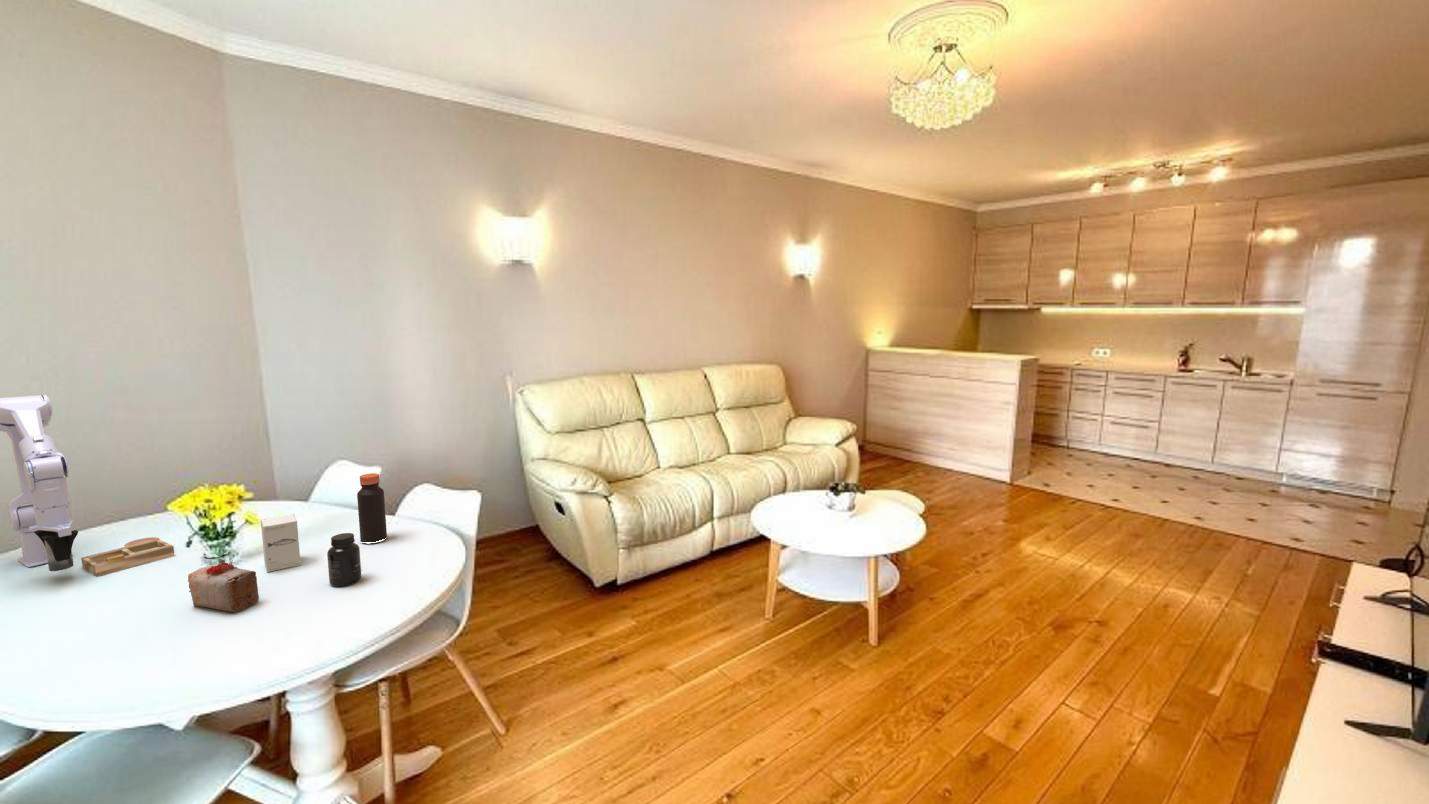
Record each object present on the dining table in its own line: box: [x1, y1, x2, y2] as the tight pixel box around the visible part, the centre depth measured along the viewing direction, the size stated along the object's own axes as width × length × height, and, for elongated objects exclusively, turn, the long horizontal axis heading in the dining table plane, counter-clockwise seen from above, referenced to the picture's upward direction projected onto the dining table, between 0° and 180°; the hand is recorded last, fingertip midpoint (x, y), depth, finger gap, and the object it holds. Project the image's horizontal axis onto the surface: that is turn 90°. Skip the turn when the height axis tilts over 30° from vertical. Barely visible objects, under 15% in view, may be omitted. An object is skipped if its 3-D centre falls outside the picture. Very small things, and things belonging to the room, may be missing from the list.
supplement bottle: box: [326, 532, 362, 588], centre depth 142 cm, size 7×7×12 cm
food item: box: [187, 559, 260, 614], centre depth 130 cm, size 14×8×10 cm, turn 77°
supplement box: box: [260, 513, 302, 573], centre depth 150 cm, size 7×7×13 cm
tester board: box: [81, 538, 175, 578], centre depth 151 cm, size 10×15×4 cm, turn 152°
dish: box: [123, 536, 160, 547], centre depth 159 cm, size 7×7×2 cm
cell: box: [44, 540, 74, 572], centre depth 140 cm, size 4×4×9 cm
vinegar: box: [356, 472, 388, 543], centre depth 167 cm, size 7×7×20 cm
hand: (60, 557), depth 140 cm, fingers closed on cell, 4 cm apart
